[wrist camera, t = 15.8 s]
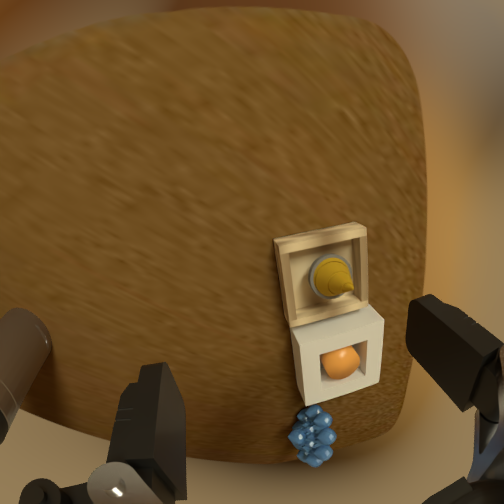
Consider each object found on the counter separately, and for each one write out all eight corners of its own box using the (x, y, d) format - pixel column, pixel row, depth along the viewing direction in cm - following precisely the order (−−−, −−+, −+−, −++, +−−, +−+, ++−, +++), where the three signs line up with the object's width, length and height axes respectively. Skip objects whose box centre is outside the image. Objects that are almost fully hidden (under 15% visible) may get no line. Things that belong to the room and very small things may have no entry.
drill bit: (305, 296, 40) (332, 321, 30) (298, 255, 39) (324, 269, 29) (343, 286, 40) (378, 307, 30) (337, 246, 40) (373, 257, 30)
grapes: (289, 386, 46) (311, 443, 35) (327, 387, 48) (354, 439, 36) (270, 431, 49) (284, 484, 38) (304, 431, 51) (323, 480, 40)
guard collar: (297, 384, 46) (305, 406, 42) (289, 324, 42) (299, 344, 37) (365, 363, 47) (378, 382, 43) (367, 302, 43) (384, 319, 38)
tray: (284, 316, 42) (290, 327, 39) (272, 238, 38) (278, 246, 35) (358, 296, 43) (368, 306, 40) (355, 221, 39) (366, 227, 36)
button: (317, 364, 45) (327, 383, 41) (316, 339, 43) (326, 357, 39) (347, 355, 45) (359, 373, 41) (347, 330, 44) (360, 347, 39)
